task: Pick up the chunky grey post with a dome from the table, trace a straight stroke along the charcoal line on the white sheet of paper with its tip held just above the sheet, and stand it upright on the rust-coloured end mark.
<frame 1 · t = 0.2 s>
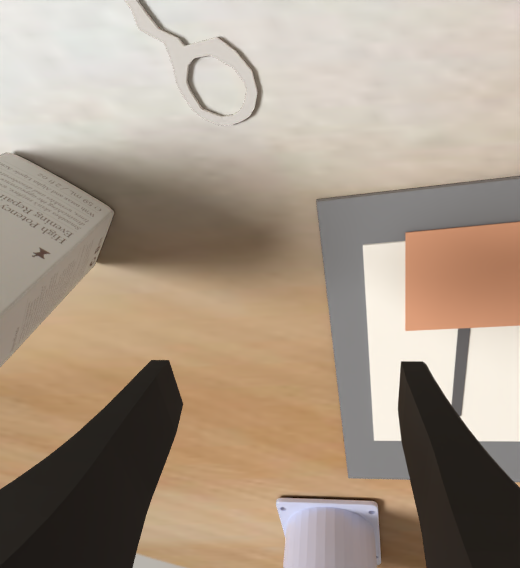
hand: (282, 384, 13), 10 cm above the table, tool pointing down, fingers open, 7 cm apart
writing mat: (458, 363, 25), on the table
skincare box: (54, 210, 23), on the table
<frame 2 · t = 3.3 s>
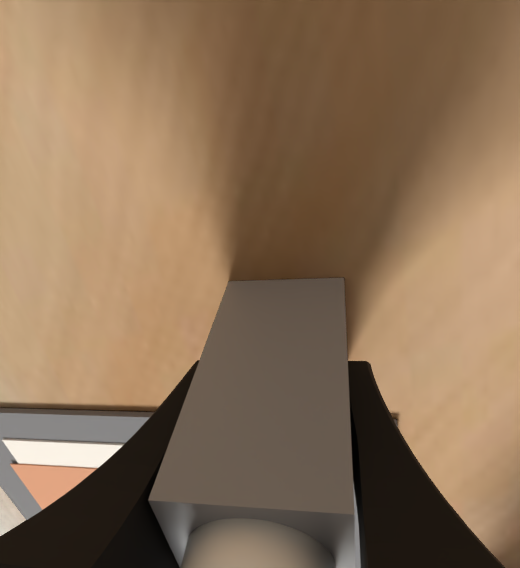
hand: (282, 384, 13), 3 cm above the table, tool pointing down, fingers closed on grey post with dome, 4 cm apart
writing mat: (182, 498, 23), on the table
grey post with dome: (290, 325, 16), on the table, touching gripper
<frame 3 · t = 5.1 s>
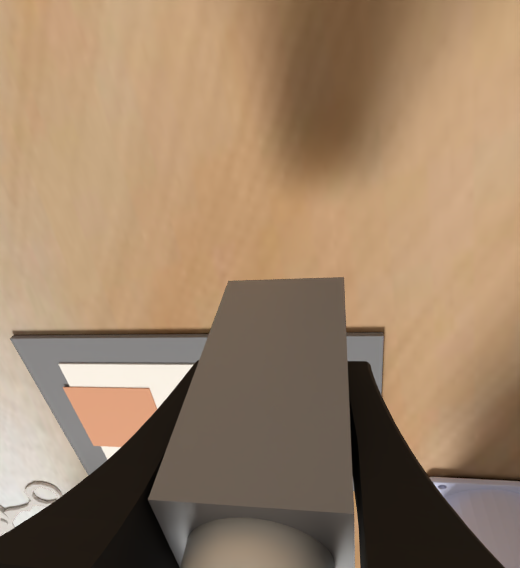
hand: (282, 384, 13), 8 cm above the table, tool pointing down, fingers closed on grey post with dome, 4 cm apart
scissors: (7, 509, 41), on the table
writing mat: (206, 416, 28), on the table
grey post with dome: (289, 324, 16), point 5 cm above the table, touching gripper
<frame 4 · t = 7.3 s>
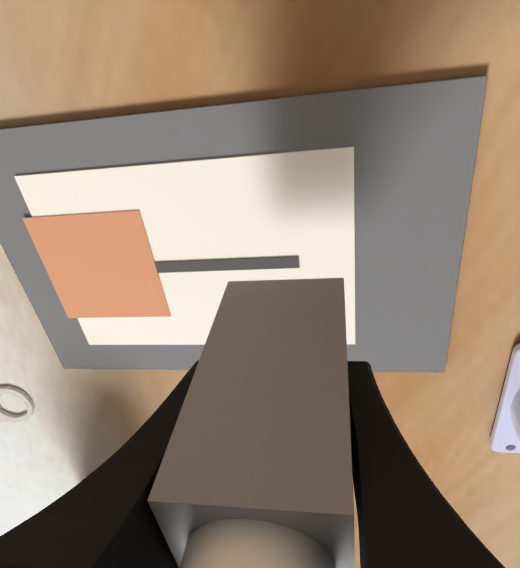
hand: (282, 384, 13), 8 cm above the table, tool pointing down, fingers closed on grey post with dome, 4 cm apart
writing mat: (217, 260, 21), on the table
grey post with dome: (289, 325, 16), point 5 cm above the table, touching gripper
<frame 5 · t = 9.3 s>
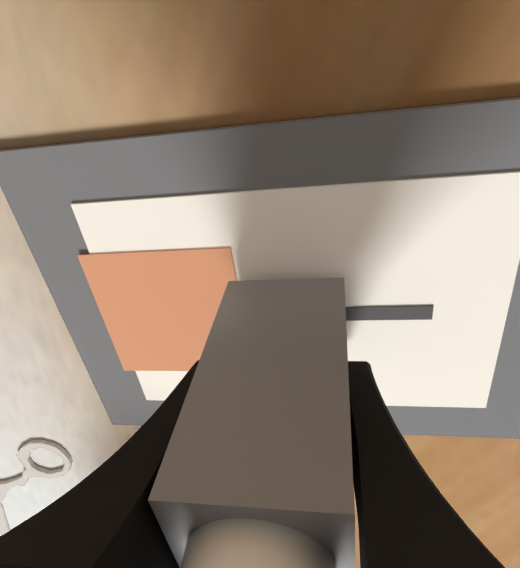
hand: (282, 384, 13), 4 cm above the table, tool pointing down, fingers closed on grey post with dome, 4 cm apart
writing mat: (320, 307, 16), on the table
grey post with dome: (290, 324, 16), point 1 cm above the table, touching gripper
when the fingers open (4 cm above the table, at t = 11.3 s): grey post with dome stays where it is, resting on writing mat.
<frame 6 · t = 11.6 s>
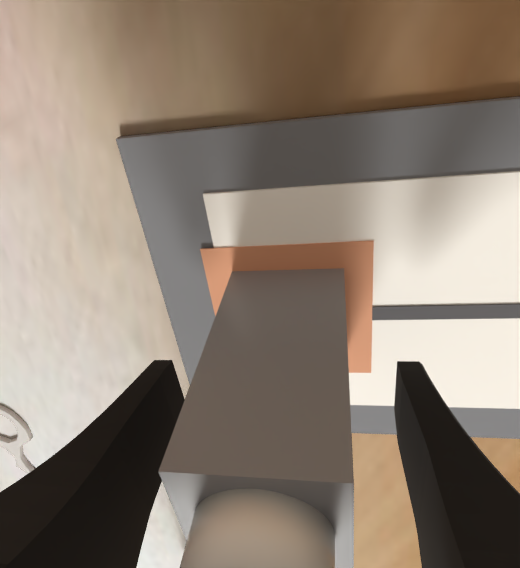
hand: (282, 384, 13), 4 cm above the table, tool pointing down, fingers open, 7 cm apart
scissors: (57, 488, 28), on the table
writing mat: (456, 304, 16), on the table
grey post with dome: (291, 314, 16), resting on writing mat
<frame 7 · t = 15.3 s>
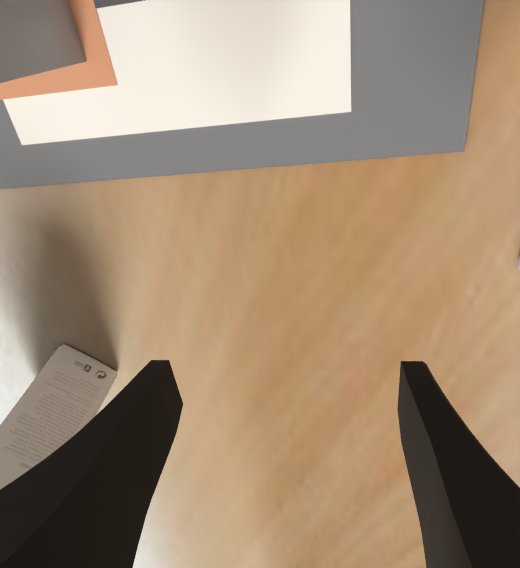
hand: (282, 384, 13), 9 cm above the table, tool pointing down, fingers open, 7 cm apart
skincare box: (80, 380, 30), on the table
grey post with dome: (22, 10, 17), resting on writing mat
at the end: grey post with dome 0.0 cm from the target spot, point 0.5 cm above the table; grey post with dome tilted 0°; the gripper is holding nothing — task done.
